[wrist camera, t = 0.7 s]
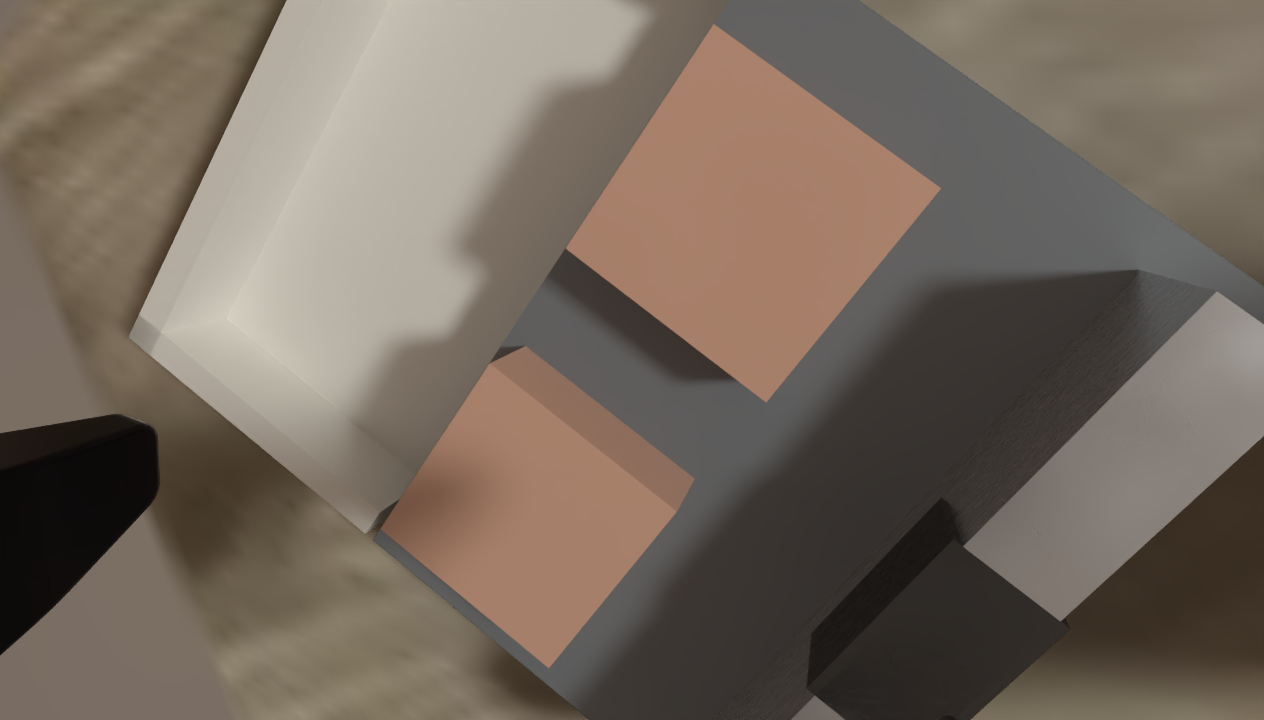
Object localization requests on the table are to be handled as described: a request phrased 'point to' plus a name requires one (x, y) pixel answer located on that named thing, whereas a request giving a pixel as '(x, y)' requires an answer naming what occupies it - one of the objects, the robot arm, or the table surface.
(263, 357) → the tray
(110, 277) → the table surface
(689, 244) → the tile
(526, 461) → the tile
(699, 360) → the board
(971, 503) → the sleeved grey plank
